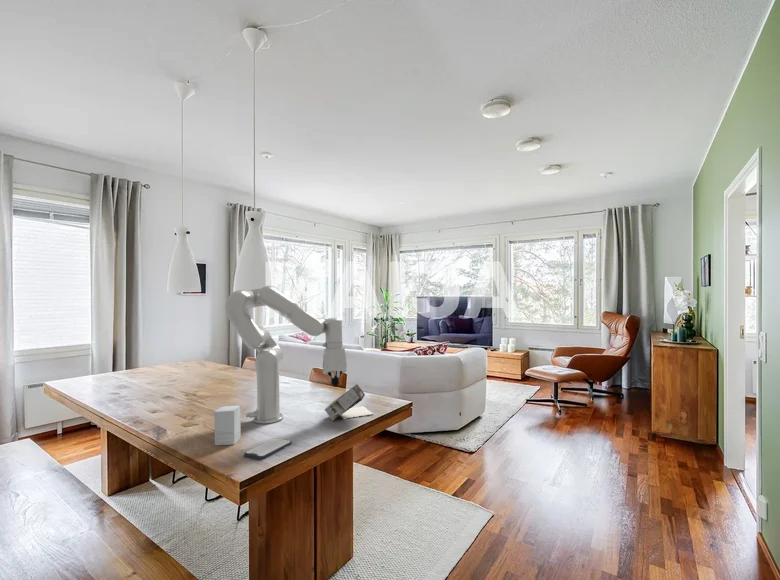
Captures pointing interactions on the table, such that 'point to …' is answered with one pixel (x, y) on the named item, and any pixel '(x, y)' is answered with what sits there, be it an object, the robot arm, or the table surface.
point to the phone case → (267, 449)
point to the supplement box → (227, 425)
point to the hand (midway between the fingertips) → (335, 386)
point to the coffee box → (345, 402)
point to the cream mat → (356, 412)
